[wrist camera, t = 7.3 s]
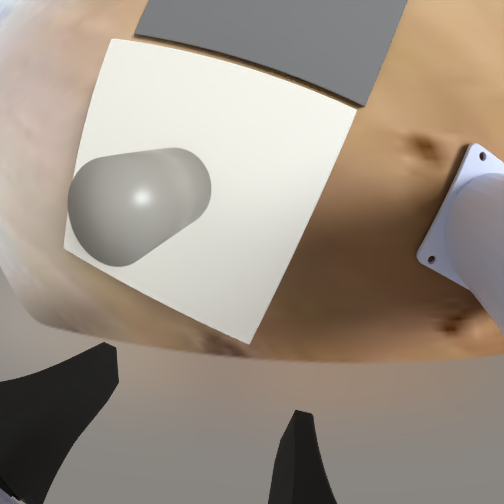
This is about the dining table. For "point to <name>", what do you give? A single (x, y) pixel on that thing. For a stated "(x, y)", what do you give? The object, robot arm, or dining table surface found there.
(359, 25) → the mat
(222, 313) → the lid
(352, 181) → the dining table surface
